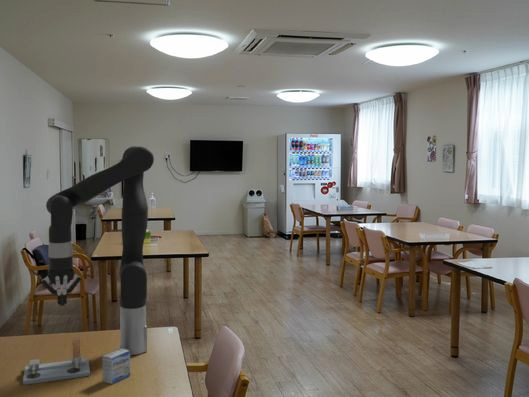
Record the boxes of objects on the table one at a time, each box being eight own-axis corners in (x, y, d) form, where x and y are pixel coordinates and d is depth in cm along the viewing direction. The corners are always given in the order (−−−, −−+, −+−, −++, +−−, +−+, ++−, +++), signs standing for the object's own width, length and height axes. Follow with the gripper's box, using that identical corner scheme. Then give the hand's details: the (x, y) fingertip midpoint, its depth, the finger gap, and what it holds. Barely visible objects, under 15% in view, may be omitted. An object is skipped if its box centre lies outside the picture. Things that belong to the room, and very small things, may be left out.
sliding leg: (81, 360, 176) (80, 335, 175) (81, 368, 170) (81, 343, 169) (71, 362, 175) (71, 336, 174) (72, 370, 168) (71, 344, 168)
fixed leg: (39, 366, 171) (39, 359, 171) (38, 374, 165) (38, 367, 165) (29, 367, 170) (29, 360, 170) (28, 376, 164) (28, 368, 164)
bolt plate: (88, 361, 179) (88, 356, 179) (90, 375, 168) (89, 369, 168) (25, 369, 172) (25, 363, 172) (22, 384, 161) (22, 378, 161)
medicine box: (111, 385, 162) (111, 358, 161) (102, 381, 164) (101, 355, 164) (130, 376, 169) (130, 350, 168) (121, 372, 171) (120, 347, 170)
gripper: (81, 251, 178) (82, 300, 179) (39, 254, 172) (41, 304, 174) (82, 255, 171) (83, 306, 172) (39, 258, 166) (40, 310, 167)
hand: (62, 305), depth 173 cm, fingers closed
